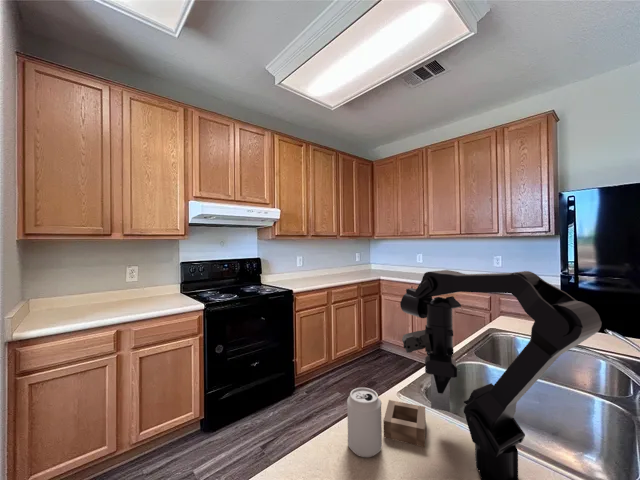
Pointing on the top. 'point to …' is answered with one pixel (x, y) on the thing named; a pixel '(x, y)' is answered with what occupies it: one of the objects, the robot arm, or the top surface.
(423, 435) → the socket
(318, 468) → the top surface
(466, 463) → the top surface
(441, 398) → the peg
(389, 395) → the top surface
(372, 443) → the can
